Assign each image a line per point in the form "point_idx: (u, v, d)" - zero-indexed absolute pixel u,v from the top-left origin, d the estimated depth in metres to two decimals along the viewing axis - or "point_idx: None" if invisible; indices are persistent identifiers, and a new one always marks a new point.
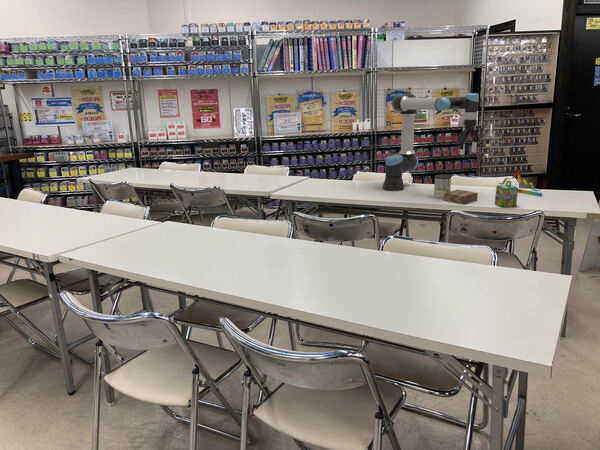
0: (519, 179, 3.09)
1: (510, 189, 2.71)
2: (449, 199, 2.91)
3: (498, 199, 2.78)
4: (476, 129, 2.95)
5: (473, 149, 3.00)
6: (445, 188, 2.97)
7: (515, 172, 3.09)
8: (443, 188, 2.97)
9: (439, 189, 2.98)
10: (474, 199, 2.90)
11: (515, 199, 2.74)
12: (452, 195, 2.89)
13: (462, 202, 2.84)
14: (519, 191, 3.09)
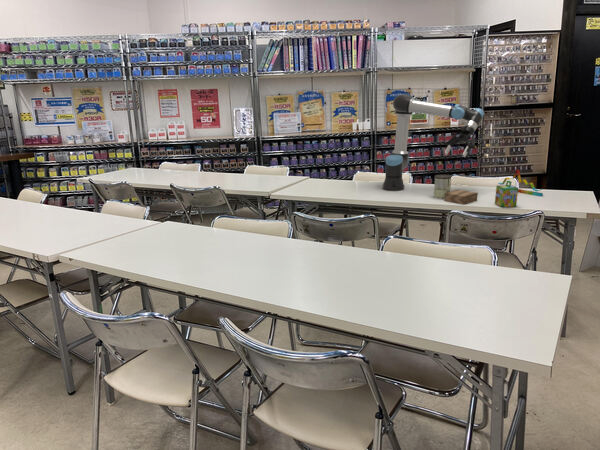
0: (519, 179, 3.08)
1: (510, 189, 2.71)
2: (449, 199, 2.91)
3: (498, 199, 2.78)
4: None
5: (447, 151, 3.08)
6: (445, 188, 2.97)
7: (515, 172, 3.09)
8: (443, 188, 2.97)
9: (439, 189, 2.98)
10: (474, 199, 2.90)
11: (515, 199, 2.74)
12: (452, 195, 2.89)
13: (462, 202, 2.84)
14: (519, 191, 3.08)
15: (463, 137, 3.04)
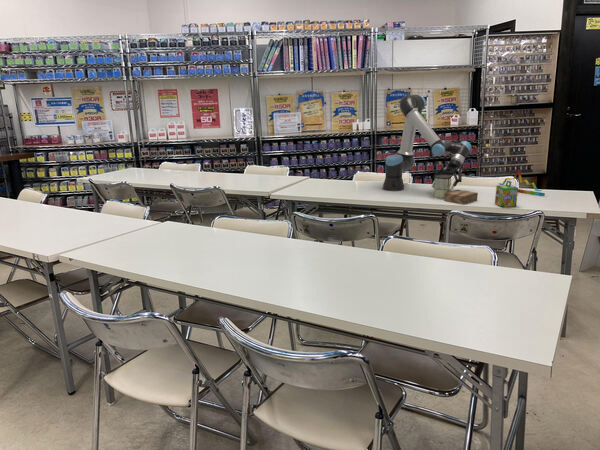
0: (520, 179, 3.08)
1: (510, 189, 2.71)
2: (449, 199, 2.91)
3: (498, 199, 2.78)
4: None
5: (434, 184, 3.06)
6: (445, 188, 2.97)
7: (516, 172, 3.08)
8: (443, 188, 2.97)
9: (439, 189, 2.98)
10: (474, 199, 2.90)
11: (515, 199, 2.74)
12: (452, 195, 2.89)
13: (462, 202, 2.84)
14: (521, 191, 3.08)
15: (450, 170, 3.03)
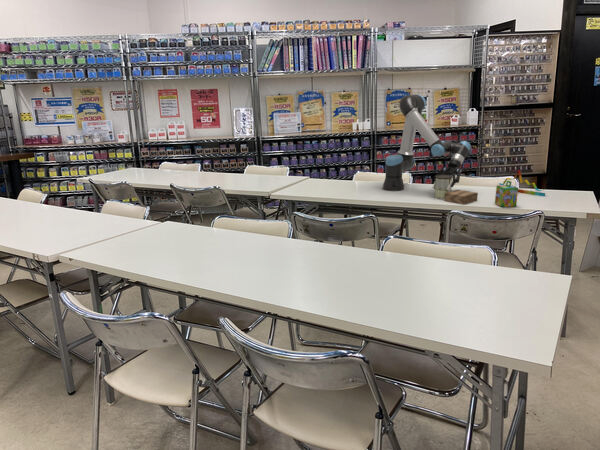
0: (521, 179, 3.08)
1: (510, 189, 2.71)
2: (449, 199, 2.91)
3: (498, 199, 2.78)
4: (444, 171, 3.08)
5: None
6: (446, 188, 2.96)
7: (517, 172, 3.08)
8: (444, 188, 2.96)
9: (440, 190, 2.97)
10: (474, 199, 2.90)
11: (515, 199, 2.74)
12: (452, 195, 2.89)
13: (462, 202, 2.84)
14: (521, 191, 3.08)
15: (450, 170, 3.02)
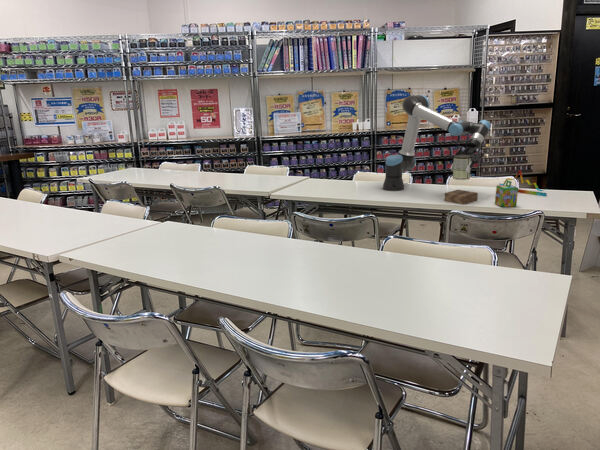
0: (522, 179, 3.07)
1: (510, 189, 2.71)
2: (449, 199, 2.91)
3: (498, 199, 2.78)
4: (462, 151, 2.95)
5: None
6: (465, 168, 2.83)
7: (517, 173, 3.07)
8: (463, 168, 2.83)
9: (458, 170, 2.84)
10: (474, 199, 2.90)
11: (515, 199, 2.74)
12: (452, 195, 2.89)
13: (462, 202, 2.84)
14: (522, 191, 3.07)
15: (469, 150, 2.89)
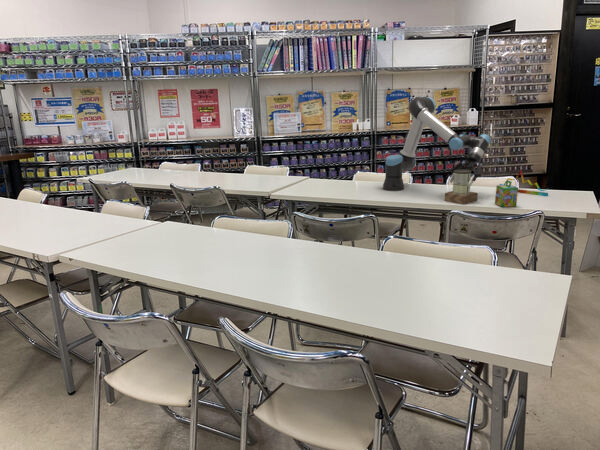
0: (523, 180, 3.07)
1: (510, 189, 2.71)
2: (449, 199, 2.91)
3: (498, 199, 2.78)
4: (462, 164, 2.97)
5: (452, 179, 2.94)
6: (464, 183, 2.85)
7: (518, 173, 3.06)
8: (463, 183, 2.85)
9: (458, 185, 2.86)
10: (474, 199, 2.90)
11: (515, 199, 2.74)
12: (452, 195, 2.89)
13: (462, 202, 2.84)
14: (523, 192, 3.07)
15: (469, 165, 2.91)
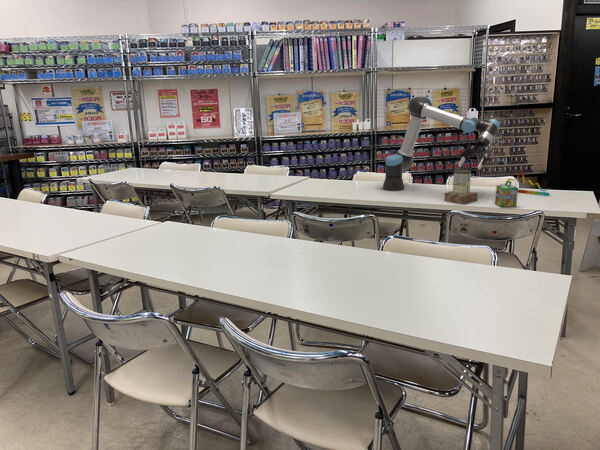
0: (523, 180, 3.06)
1: (510, 189, 2.71)
2: (449, 199, 2.91)
3: (498, 199, 2.78)
4: None
5: (461, 163, 2.96)
6: (464, 183, 2.85)
7: (519, 173, 3.06)
8: (463, 183, 2.85)
9: (458, 185, 2.86)
10: (474, 199, 2.90)
11: (515, 199, 2.74)
12: (452, 195, 2.89)
13: (462, 202, 2.84)
14: (524, 192, 3.06)
15: (478, 149, 2.93)
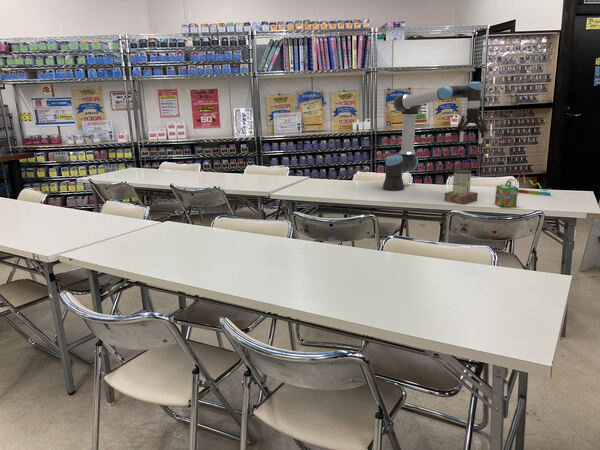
0: (524, 180, 3.06)
1: (510, 189, 2.71)
2: (449, 199, 2.91)
3: (498, 199, 2.78)
4: None
5: (461, 138, 2.98)
6: (464, 183, 2.85)
7: (520, 173, 3.05)
8: (463, 183, 2.85)
9: (458, 185, 2.86)
10: (474, 199, 2.90)
11: (515, 199, 2.74)
12: (452, 195, 2.89)
13: (462, 202, 2.84)
14: (525, 192, 3.06)
15: (471, 121, 2.89)
